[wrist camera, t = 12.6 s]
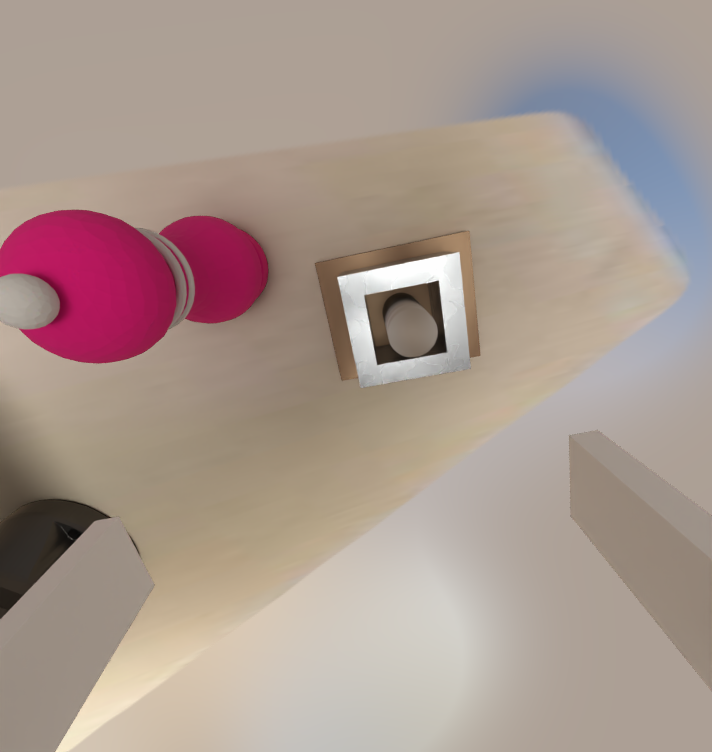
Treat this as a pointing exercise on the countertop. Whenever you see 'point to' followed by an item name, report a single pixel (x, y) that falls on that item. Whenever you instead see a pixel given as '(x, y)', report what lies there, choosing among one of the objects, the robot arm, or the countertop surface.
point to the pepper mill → (123, 281)
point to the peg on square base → (396, 302)
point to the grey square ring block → (445, 308)
